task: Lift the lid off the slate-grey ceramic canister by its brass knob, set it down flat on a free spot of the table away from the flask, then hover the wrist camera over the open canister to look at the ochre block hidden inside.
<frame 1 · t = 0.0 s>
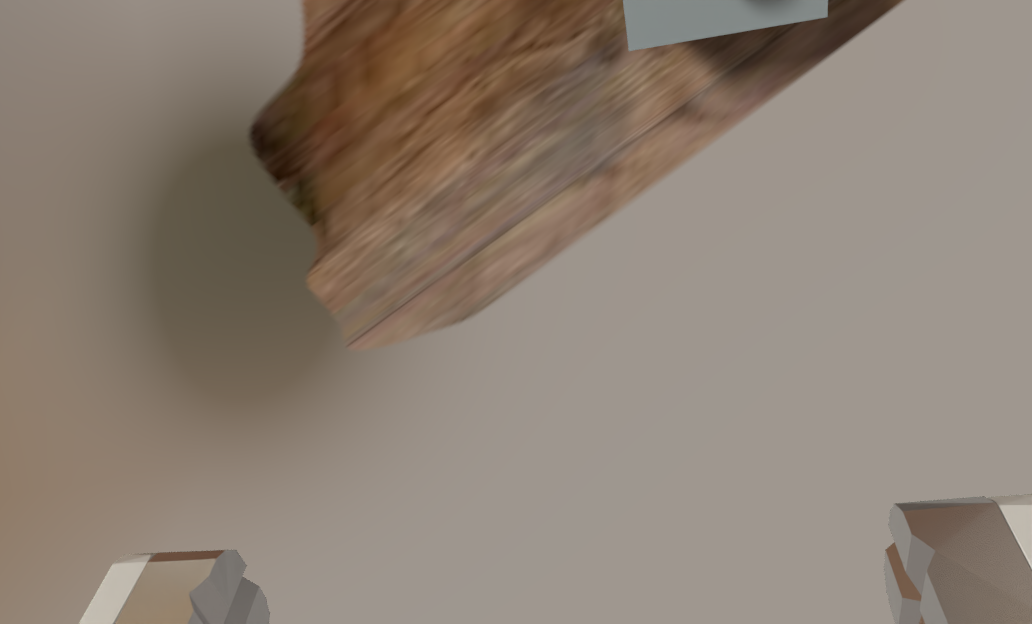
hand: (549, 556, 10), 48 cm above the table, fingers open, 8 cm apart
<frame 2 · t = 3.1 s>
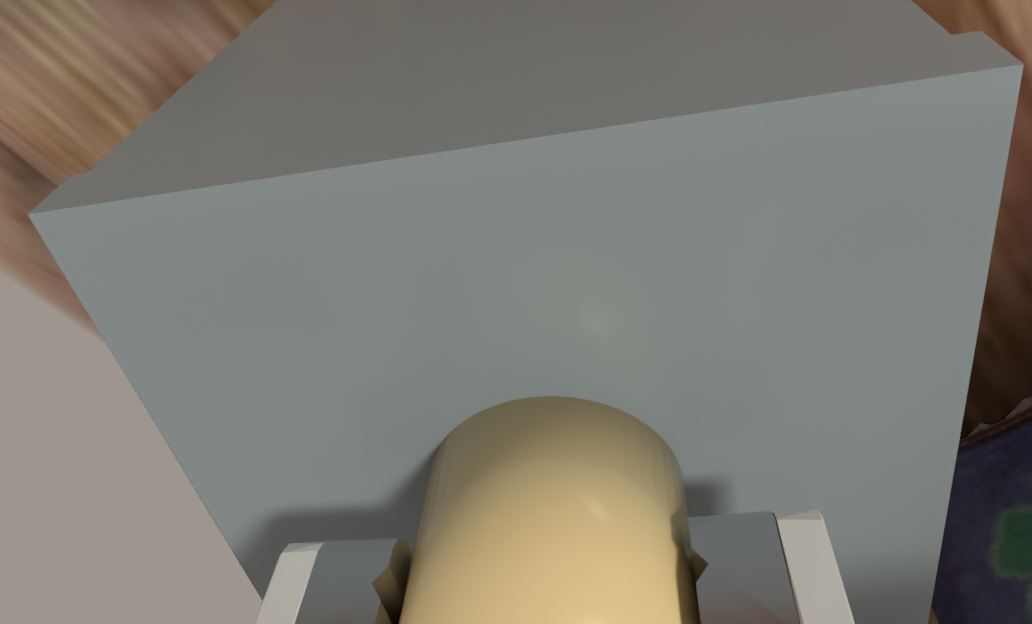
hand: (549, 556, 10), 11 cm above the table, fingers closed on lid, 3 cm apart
canister: (564, 163, 19), on the table, touching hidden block
lid: (557, 439, 12), point 9 cm above the table, touching gripper
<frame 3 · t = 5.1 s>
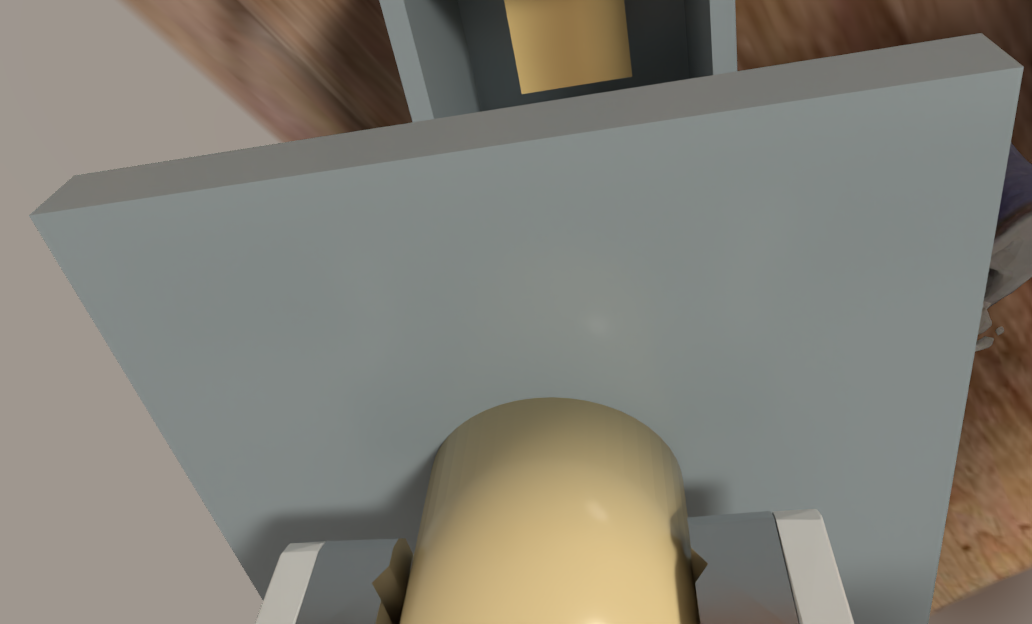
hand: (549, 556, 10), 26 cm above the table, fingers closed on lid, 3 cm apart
lid: (557, 440, 12), point 24 cm above the table, touching gripper
flask: (875, 180, 35), on the table
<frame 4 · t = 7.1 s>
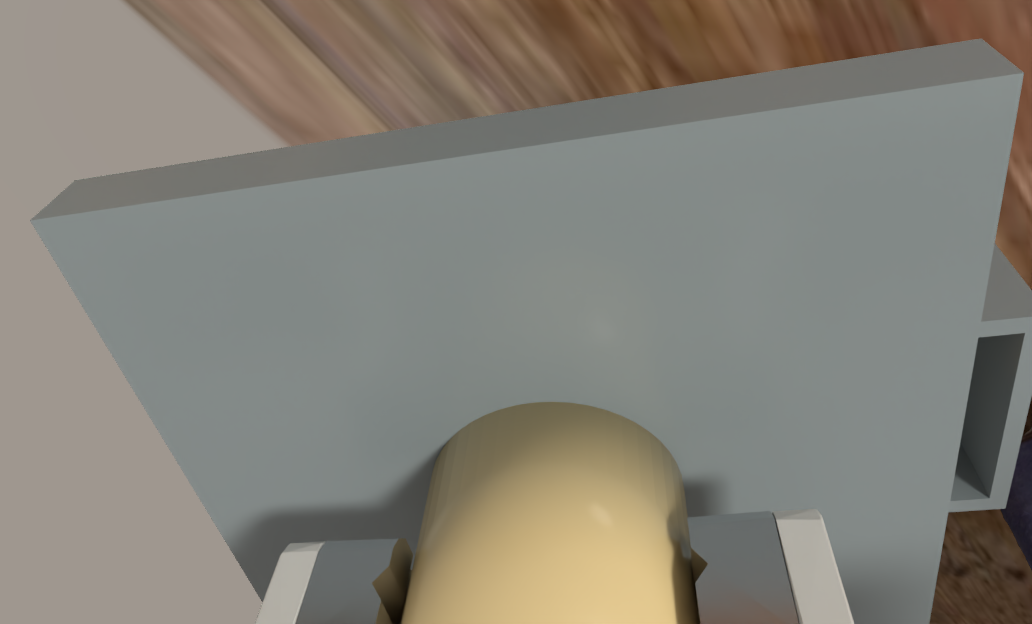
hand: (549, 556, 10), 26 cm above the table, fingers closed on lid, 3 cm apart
canister: (830, 299, 39), on the table, touching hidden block
lid: (558, 443, 12), point 24 cm above the table, touching gripper
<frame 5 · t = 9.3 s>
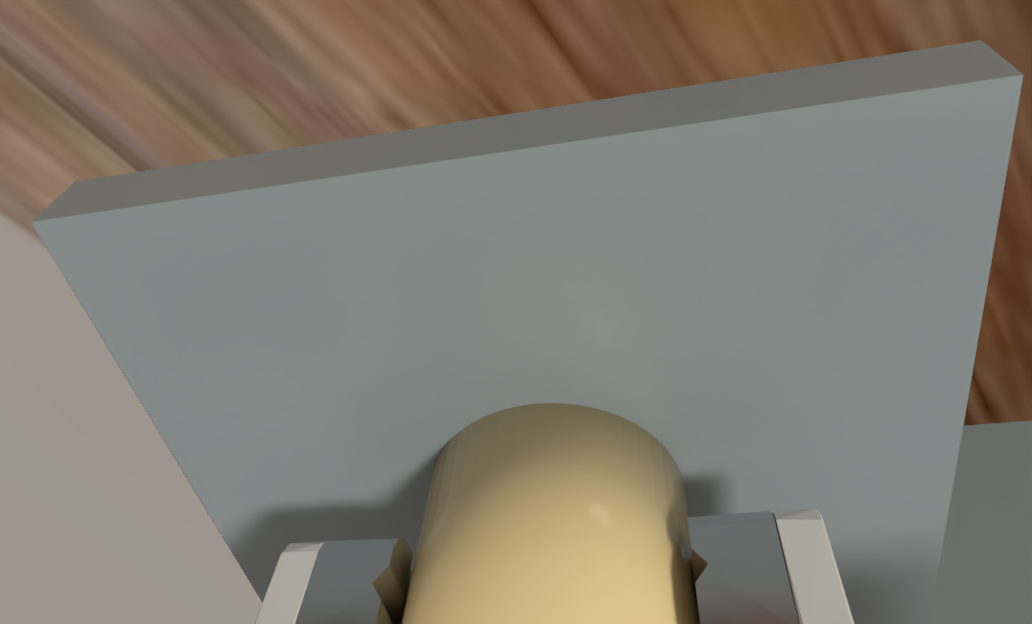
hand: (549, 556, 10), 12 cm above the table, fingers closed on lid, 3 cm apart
canister: (938, 530, 27), on the table, touching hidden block
lid: (558, 445, 12), point 10 cm above the table, touching gripper
when the fingers open (5 cm above the table, at t = 11.1 s): lid drops 2 cm, point 1 cm above the table.
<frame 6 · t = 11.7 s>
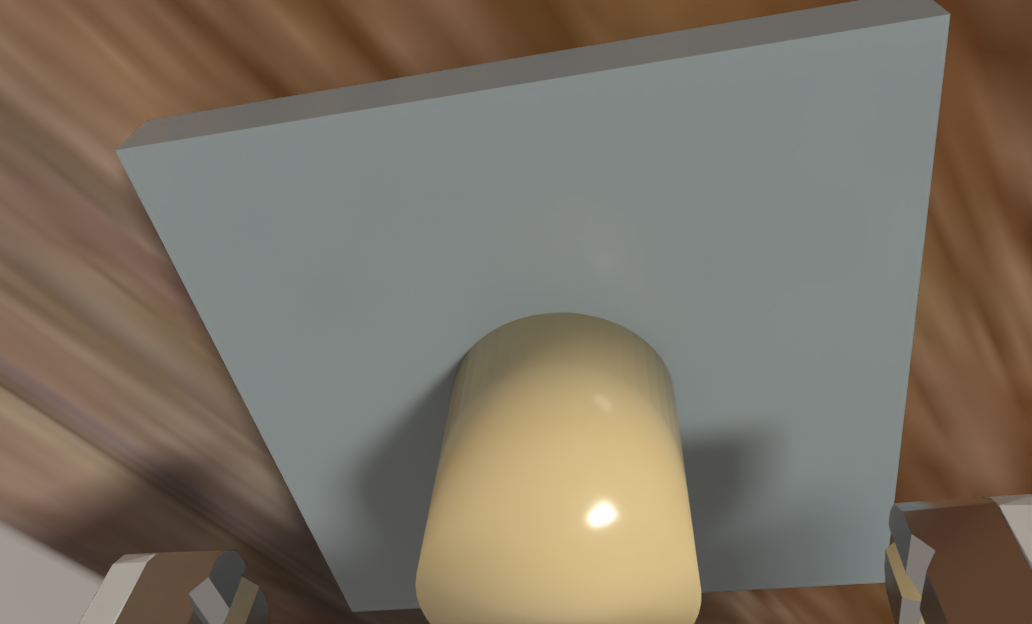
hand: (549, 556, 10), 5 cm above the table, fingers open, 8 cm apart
lid: (563, 361, 14), point 1 cm above the table
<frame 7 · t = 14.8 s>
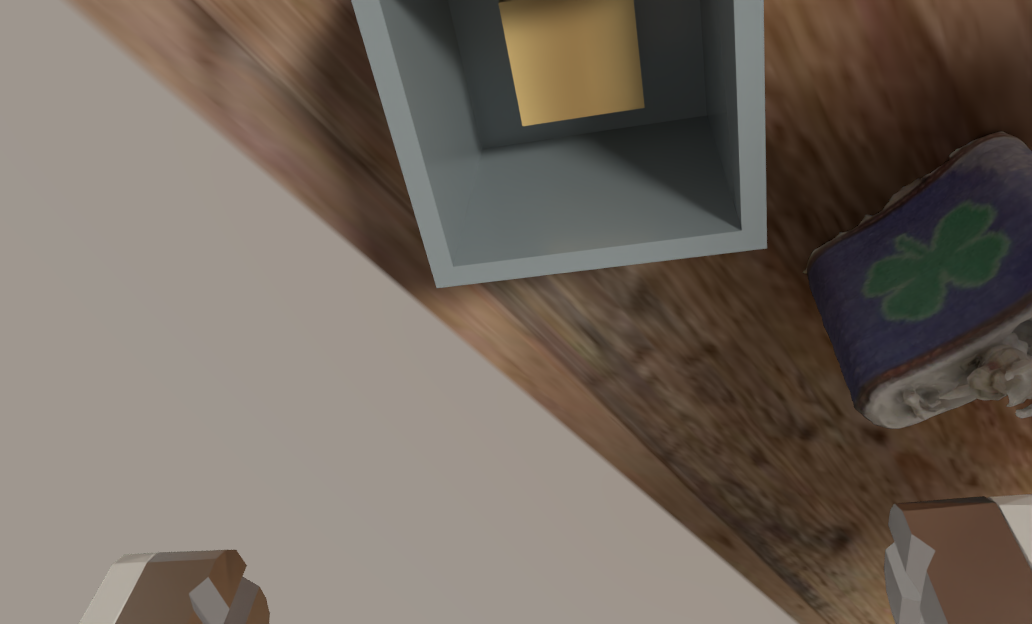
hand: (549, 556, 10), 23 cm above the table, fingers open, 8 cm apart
canister: (575, 14, 29), on the table, touching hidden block
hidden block: (575, 19, 29), resting on canister
flask: (906, 214, 33), on the table
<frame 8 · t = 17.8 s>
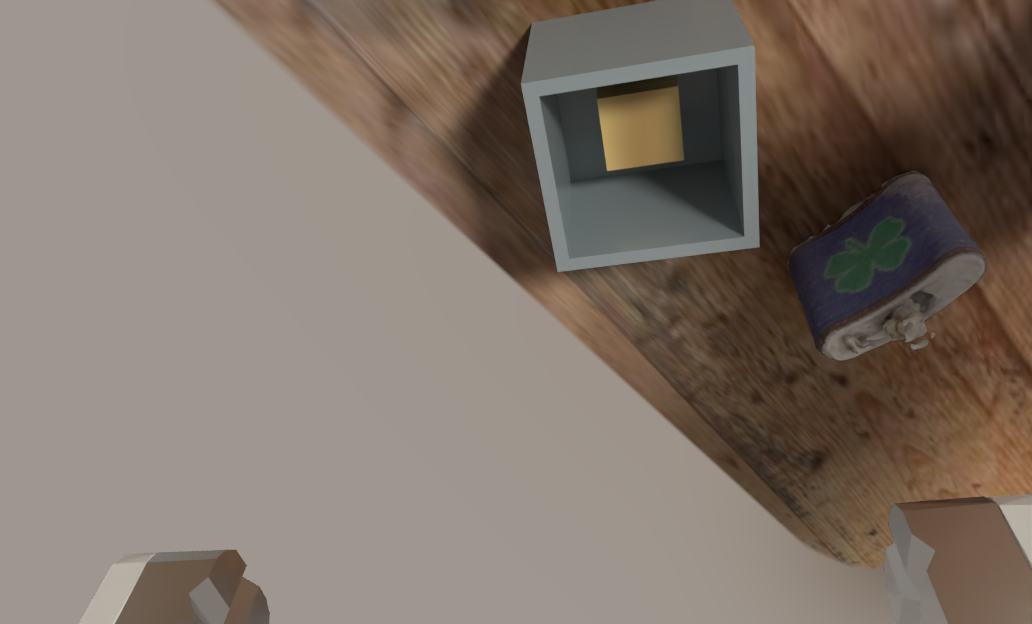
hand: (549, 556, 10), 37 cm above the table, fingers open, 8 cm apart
canister: (637, 97, 45), on the table, touching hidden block
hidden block: (637, 100, 45), resting on canister
flask: (854, 224, 49), on the table
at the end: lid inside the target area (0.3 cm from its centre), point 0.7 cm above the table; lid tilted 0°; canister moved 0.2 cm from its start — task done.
